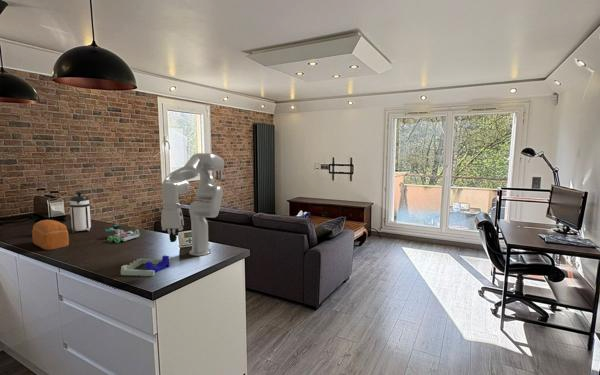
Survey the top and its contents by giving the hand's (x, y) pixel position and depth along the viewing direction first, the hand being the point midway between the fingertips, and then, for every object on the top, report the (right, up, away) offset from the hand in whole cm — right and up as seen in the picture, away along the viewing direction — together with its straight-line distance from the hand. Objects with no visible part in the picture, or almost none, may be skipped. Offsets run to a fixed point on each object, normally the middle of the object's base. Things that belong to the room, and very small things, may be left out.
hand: (173, 241), depth 165 cm
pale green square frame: (-14, -15, +2) cm, 21 cm away
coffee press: (-103, -6, +81) cm, 131 cm away
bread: (-97, -10, +44) cm, 107 cm away
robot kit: (-61, -9, +60) cm, 86 cm away
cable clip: (-9, -15, +1) cm, 18 cm away
